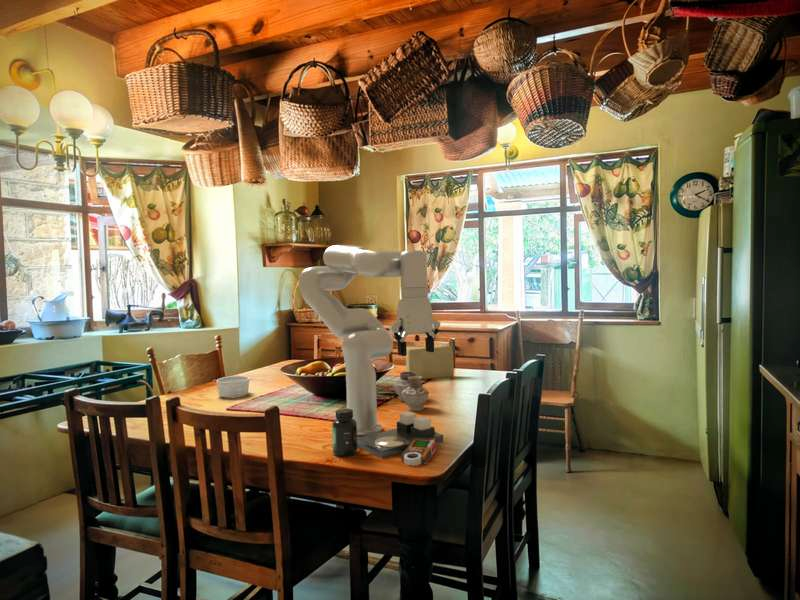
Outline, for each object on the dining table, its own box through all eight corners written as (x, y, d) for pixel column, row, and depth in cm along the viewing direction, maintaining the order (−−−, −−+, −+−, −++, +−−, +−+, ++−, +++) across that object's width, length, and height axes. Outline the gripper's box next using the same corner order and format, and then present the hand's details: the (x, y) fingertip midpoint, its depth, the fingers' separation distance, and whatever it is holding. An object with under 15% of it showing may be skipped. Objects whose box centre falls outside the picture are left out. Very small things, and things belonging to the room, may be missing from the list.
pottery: (403, 414, 188) (402, 380, 187) (391, 397, 212) (391, 368, 211) (434, 411, 190) (433, 378, 189) (419, 395, 214) (418, 366, 213)
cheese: (451, 374, 256) (450, 343, 255) (455, 378, 246) (455, 346, 245) (405, 376, 253) (405, 345, 252) (408, 380, 243) (408, 348, 242)
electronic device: (398, 457, 138) (414, 435, 152) (399, 468, 139) (415, 445, 153) (423, 459, 136) (437, 437, 150) (424, 470, 137) (437, 446, 151)
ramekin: (244, 399, 214) (243, 382, 214) (212, 399, 215) (211, 382, 214) (254, 391, 228) (253, 375, 227) (223, 391, 228) (223, 375, 228)
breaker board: (354, 445, 155) (354, 430, 154) (414, 430, 168) (414, 416, 167) (381, 458, 143) (381, 442, 143) (443, 441, 156) (443, 426, 156)
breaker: (400, 424, 162) (399, 413, 162) (409, 422, 164) (409, 411, 164) (407, 427, 159) (406, 416, 159) (416, 425, 161) (416, 413, 161)
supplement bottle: (332, 457, 145) (330, 414, 144) (333, 449, 151) (332, 407, 151) (357, 456, 145) (356, 413, 144) (357, 448, 152) (356, 407, 151)
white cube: (413, 430, 156) (413, 418, 156) (423, 427, 158) (423, 416, 158) (421, 433, 153) (421, 421, 153) (431, 430, 156) (430, 418, 155)
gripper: (430, 292, 159) (432, 349, 160) (381, 295, 149) (383, 355, 150) (446, 292, 153) (448, 351, 153) (396, 295, 143) (398, 358, 144)
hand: (416, 353), depth 152 cm, fingers open, 9 cm apart
